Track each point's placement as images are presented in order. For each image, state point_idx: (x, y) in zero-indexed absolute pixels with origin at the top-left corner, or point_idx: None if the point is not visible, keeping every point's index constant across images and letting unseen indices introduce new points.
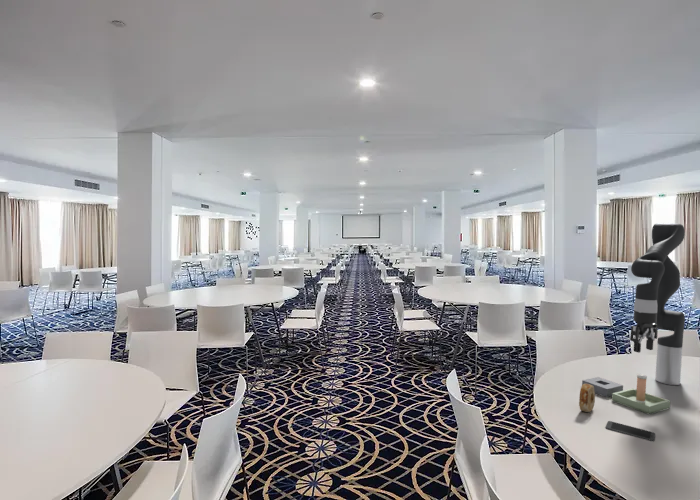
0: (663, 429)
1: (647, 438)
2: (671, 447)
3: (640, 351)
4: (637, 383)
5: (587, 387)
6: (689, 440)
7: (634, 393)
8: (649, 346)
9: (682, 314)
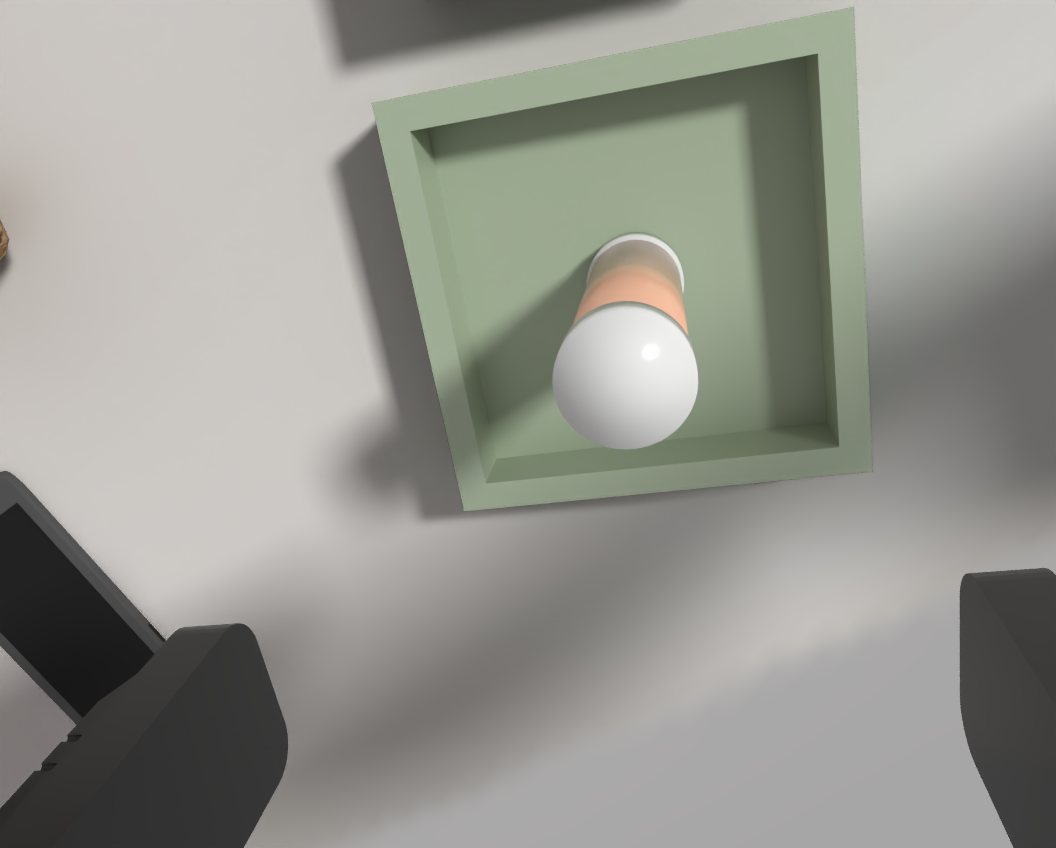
0: (335, 678)
1: None
2: None
3: (276, 782)
4: (576, 316)
5: None
6: (364, 815)
7: (809, 69)
8: (1001, 751)
9: None
